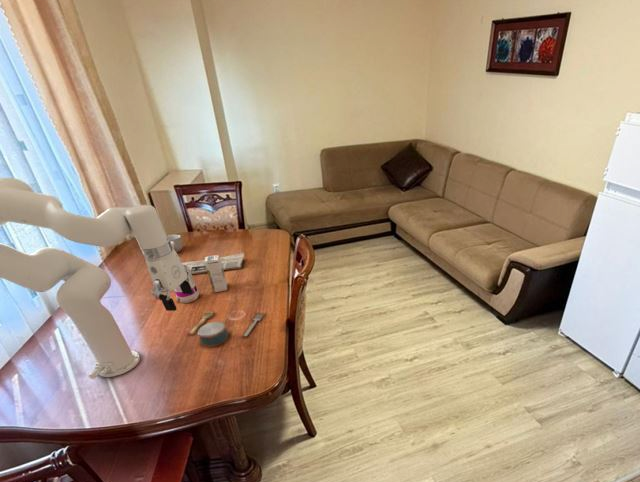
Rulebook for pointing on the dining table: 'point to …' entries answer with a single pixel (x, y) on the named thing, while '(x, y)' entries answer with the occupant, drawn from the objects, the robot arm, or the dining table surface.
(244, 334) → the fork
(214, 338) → the tin
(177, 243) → the teacup
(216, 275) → the syrup box
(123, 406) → the dining table surface
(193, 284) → the supplement can
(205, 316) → the spoon
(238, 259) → the newspaper
